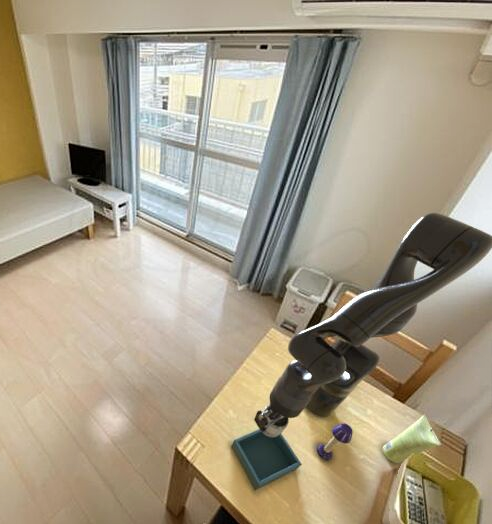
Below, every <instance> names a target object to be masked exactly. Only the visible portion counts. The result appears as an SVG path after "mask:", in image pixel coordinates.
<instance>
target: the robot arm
mask: <svg viewBox="0 0 492 524" xmlns="http://www.w3.org/2000/svg"><path fill="white" fill-rule="evenodd" d="M491 250H492V235H491V234H490V233H487V232H485V231H484V230H481V229H478V228H476V227H474V226H471V225H470V224H467V223H465V222H463V221H460V220H458V219H455V218H453V217H450V216H448V215H445V214H442V213H438V212H429V213H427V214H424V215H423V216H421V217H420V218H418V219H417V220H416V221H415V222H414V223H413V224H412V225H411V226H410V228H409V229H408V230H407V232H406V233H405V234H404V236H403V238H402V239H401V241H400V243H399V245H398V247H397V248H396V250H395V251H394V254H393V256H392V258H391V260H390V262H389V263H388V266H387V267H386V268H385V270H384V272H383V274H381V276H380V277H379V278H378V281H377V282H376V283H375V285H374V286H373V287H372V289H369V290H367V291H364V292H362V293H360V294H358V295H356V296H354V297H353V298H351V299H350V300H349V301H347V303H345V304H344V305H343V306H342V307H341V308H340V309H339V310H338V311H337V312H335V313H334V314H333V315H331V316H329V317H328V318H327V319H324V320H323V321H321V322H319V323H317V324H315V325H313V326H311V327H308V328H306V329H303V330H301V331H299V332H298V333H296V334H294V335H293V336H292V337H291V338H290V339H289V341H288V344H287V351H288V353H289V354H290V356H291V357H292V358H293V360H292V361H291V362H289V363H288V364H287V365H286V368H285V369H284V371H283V373H282V375H281V376H279V378H278V379H277V381H275V384H274V386H273V387H272V389H271V391H270V393H269V404H268V405H269V407H268V408H266V409H265V408H264V409H265V410H264V409H263V411H262V410H261V409H259V410H257V412H256V414H255V416H254V418H253V419H254V423H255V424H256V426H257V427H258V429H260V430H261V431H262V432H264V431H265V430H266V429H267V427H268V426H269V425H270V424H275V423H276V422H277V421H278V420H279V419H282V418H284V417H287V418H288V419H294V418H297V417H299V416H300V415H301V414H302V412H303V411H304V409H305V410H306V411H307V412H308V413H309V414H310V415H312V416H314V417H316V418H319V419H327V418H329V417H330V416H331V415H332V414H333V413H334V412H335V411H336V410H337V408H338V407H339V406H340V405H341V404H342V403H343V402H344V401H345V400H346V399H347V397H348V396H349V395H351V393H352V392H353V391H354V390H355V389H356V388H357V386H358V385H359V384H360V383H362V381H364V379H366V378H367V377H368V376H369V375H370V374H371V373H373V372H374V370H375V369H376V368H377V367H378V365H379V364H380V355H379V354H378V353H377V352H376V351H374V350H373V349H371V348H369V347H368V346H366V345H364V344H365V343H366V342H368V341H369V339H371V338H383V337H387V336H391V335H395V334H397V333H399V332H400V331H402V330H403V328H404V327H405V326H406V325H407V324H408V323H409V322H410V321H411V320H412V319H413V317H414V316H415V315H416V313H417V310H418V304H419V303H421V302H423V301H424V300H426V299H428V298H429V297H431V296H432V295H434V294H436V293H437V292H439V291H440V290H442V289H443V288H445V287H447V286H448V285H449V284H451V283H453V282H454V281H455V280H457V279H459V278H460V277H462V276H463V275H465V274H466V273H468V272H469V271H470V270H472V269H473V268H474V267H475V266H476V265H478V264H479V263H480V262H481V261H482V260H483V259H484V258H485V257H486V256H487V255H488V254H489V253H490V251H491ZM418 263H420V264H423V265H424V266H426V267H428V268H430V269H432V270H431V271H430V272H428V273H426V274H424V275H423V276H420V277H418V278H415V271H416V267H417V264H418ZM327 338H336V339H335V341H334V342H333V343H332V345H331V344H330V343H329V342H328V341H326V339H327ZM262 412H263V413H262ZM272 417H273V418H275V419H273V418H272ZM267 419H268V420H267ZM267 421H268V422H267Z"/></svg>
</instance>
